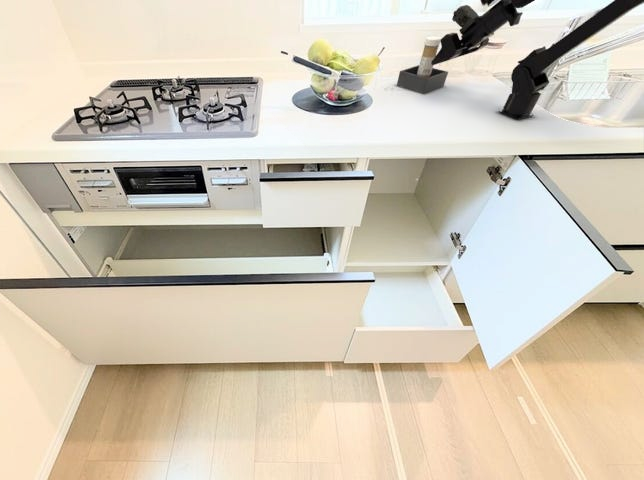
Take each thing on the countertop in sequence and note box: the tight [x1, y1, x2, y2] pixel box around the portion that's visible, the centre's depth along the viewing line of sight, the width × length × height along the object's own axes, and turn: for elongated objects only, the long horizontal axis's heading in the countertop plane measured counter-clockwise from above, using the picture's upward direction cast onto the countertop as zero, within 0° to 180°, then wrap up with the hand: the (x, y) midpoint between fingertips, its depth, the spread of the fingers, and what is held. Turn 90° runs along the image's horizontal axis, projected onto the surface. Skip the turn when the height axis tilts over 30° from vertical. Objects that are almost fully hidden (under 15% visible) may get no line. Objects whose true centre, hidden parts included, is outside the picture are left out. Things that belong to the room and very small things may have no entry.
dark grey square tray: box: [396, 64, 449, 95], centre depth 111 cm, size 11×11×4 cm
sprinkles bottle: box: [417, 35, 442, 78], centre depth 108 cm, size 5×5×13 cm
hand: (440, 61), depth 104 cm, fingers open, 9 cm apart
